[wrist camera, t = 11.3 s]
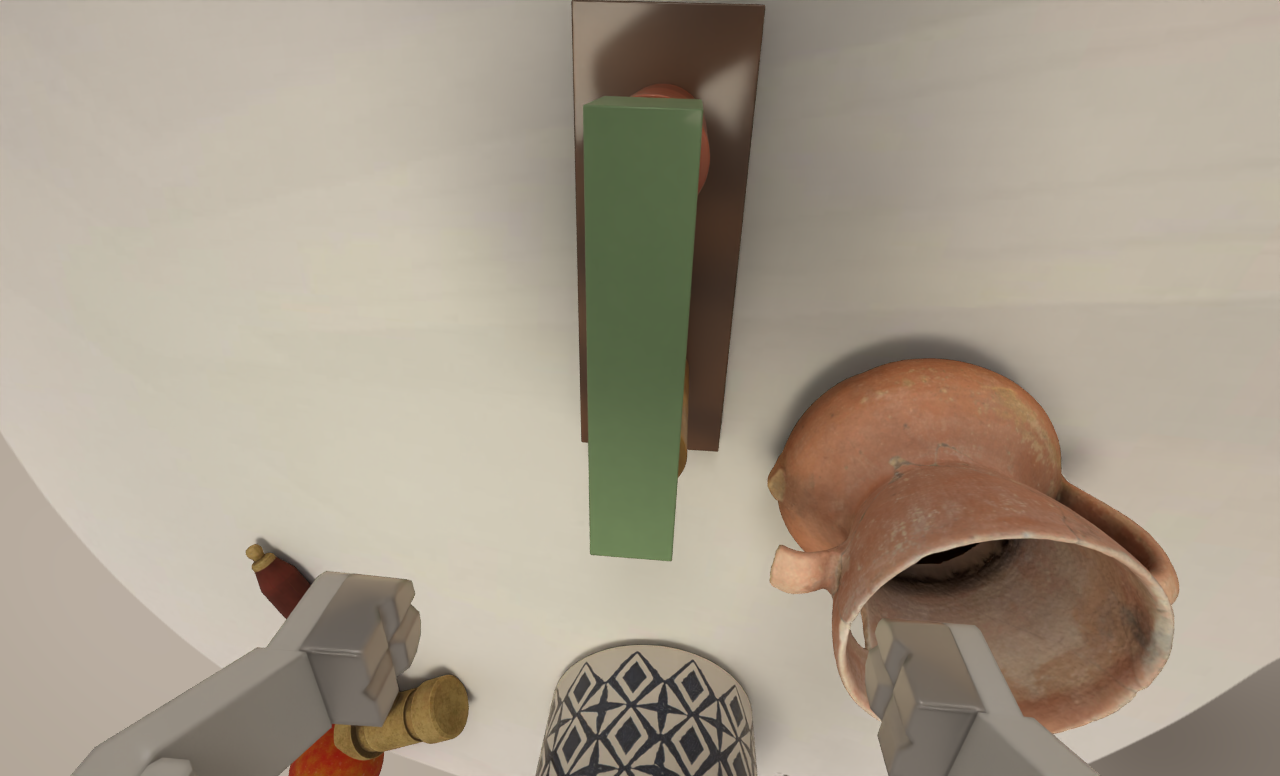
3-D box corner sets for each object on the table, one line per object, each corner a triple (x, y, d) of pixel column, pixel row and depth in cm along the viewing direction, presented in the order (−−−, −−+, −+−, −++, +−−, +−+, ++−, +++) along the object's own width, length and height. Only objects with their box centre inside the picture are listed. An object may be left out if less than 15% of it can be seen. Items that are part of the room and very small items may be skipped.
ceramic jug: (736, 530, 40) (754, 744, 28) (770, 325, 33) (813, 488, 21) (1018, 556, 39) (1168, 790, 27) (1114, 351, 32) (1377, 539, 20)
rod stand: (577, 2, 27) (523, -22, 18) (762, 6, 26) (792, -15, 18) (585, 428, 37) (553, 536, 29) (717, 437, 37) (723, 549, 28)
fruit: (399, 707, 52) (353, 808, 45) (395, 753, 56) (352, 853, 49) (319, 689, 52) (259, 787, 45) (319, 736, 55) (265, 834, 48)
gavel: (176, 588, 43) (279, 547, 40) (223, 545, 47) (321, 505, 44) (356, 776, 50) (456, 752, 47) (384, 724, 54) (477, 699, 51)
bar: (603, 95, 20) (582, 104, 16) (702, 99, 20) (703, 108, 16) (603, 491, 27) (589, 555, 24) (675, 496, 27) (671, 561, 24)
